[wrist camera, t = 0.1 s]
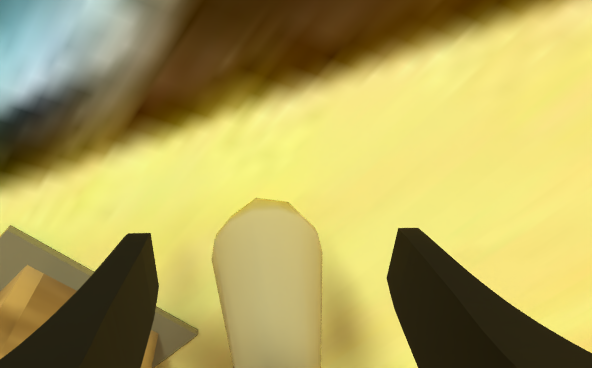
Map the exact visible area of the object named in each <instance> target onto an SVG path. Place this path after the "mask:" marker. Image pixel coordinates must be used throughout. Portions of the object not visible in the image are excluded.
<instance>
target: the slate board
mask: <svg viewBox="0 0 592 368" xmlns="http://www.w3.org/2000/svg"><path fill="white" fill-rule="evenodd" d="M26 265H29V266H30V267H32V268H34V269H36V270H38V271H40V272H42V273H44V274H46V275H48V276H50V277H51V278H53V279H55V280H57V281H59V282H61V283H63V284H65V285H67V286H69V287H71V288H72V289H74V290H76V291H77V290H78V289H79V288H80V287H81V286H82V285H83V284H84V283H85V282H86V281H87V280H88V279H89V277H90V276H91V275H92V274H93V273H94V272H93V271H91V270H90V269H88V268H86V267H84V266H82V265H81V264H79V263H77V262H75V261H73V260H72V259H70V258H68V257H66V256H64V255H63V254H61V253H59V252H57V251H55V250H54V249H52V248H50V247H48V246H47V245H45V244H43V243H41V242H39V241H38V240H36V239H34V238H32V237H30V236H29V235H27V234H25V233H23V232H21V231H20V230H18V229H16V228H14V227H12V226H11V225H10V226H9V227H8V228H7V229H6V230H5V231H4V232H3V234H2V235H1V236H0V291H1V290H2V289H3V288H4V287H5V286H6V285H7V284H8V283H9V282H10V281H11V280H12V279H13V278H14V277H15V276H16V275H17V274H18V273H19V272H20V271H21V270H22V269H23V268H24V267H25V266H26ZM151 330H153V331H154V332H156V333H158V338H157V343H156V348H155V353H154V358H153V363H152V368H154V367H156V366H157V365H158V364H160V363H161V362H162V361H164V360H165V359H166V358H168V357H169V356H170V355H172V354H173V353H174V352H176V351H177V350H178V349H180V348H181V347H182V346H184V345H185V344H186V343H188V342H189V341H190V340H192V339H193V338H194V337H196V336H197V335H198V330H197V329H195V328H193V327H192V326H190V325H188V324H186V323H184V322H183V321H181V320H179V319H177V318H176V317H174V316H172V315H170V314H168V313H167V312H165V311H163V310H161V309H159V308H158V307H156V309H155V316H154V321H153V325H152V328H151Z"/></svg>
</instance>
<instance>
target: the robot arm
mask: <svg viewBox="0 0 592 368" xmlns="http://www.w3.org/2000/svg"><path fill="white" fill-rule="evenodd" d="M387 282H388V286H389V290H390V294H391V298H392V301H393V305H394V309H395V311H396V314H397V316H398V319H399V322H400V324H401V327H402V329H403V332H404V334H405V336H406V339H407V341H408V344H409V346H410V349H411V351H412V354H413V356H414V359H415V361H416V363H417V366H418V368H592V353H590V352H588V351H586V350H585V349H583V348H581V347H579V346H577V345H575V344H573V343H572V342H570V341H568V340H566V339H565V338H563V337H561V336H560V335H558V334H556V333H554V332H553V331H551V330H549V329H548V328H546V327H544V326H543V325H541V324H539V323H538V322H536V321H535V320H533V319H532V318H530V317H529V316H527V315H526V314H524V313H523V312H521V311H520V310H518V309H517V308H515V307H514V306H512V305H511V304H509V303H508V302H507V301H505V300H504V299H503V298H501V297H500V296H499V295H497V294H496V293H495V292H493V291H492V290H491V289H489V288H488V287H487V286H485V285H484V284H483V283H482V282H480V281H479V280H478V279H477V278H475V277H474V276H473V275H472V274H471V273H469V272H468V271H467V270H466V269H465V268H463V267H462V266H461V265H460V264H459V263H458V262H456V261H455V260H454V259H453V258H452V257H451V256H450V255H448V254H447V253H446V252H445V251H444V250H443V249H442V248H441V247H439V246H438V245H437V244H436V243H435V242H434V241H433V240H432V239H430V238H429V237H428V236H427V235H426V234H425V233H423V232H422V231H421V230H420V229H419V228H398V232H397V236H396V240H395V245H394V249H393V253H392V258H391V262H390V266H389V270H388V275H387ZM158 288H159V284H158V278H157V271H156V265H155V259H154V252H153V246H152V240H151V233H132V234H127V235H126V236H125V237H124V238H123V239H122V240H121V242H120V243H119V244H118V245H117V246H116V248H115V249H114V250H113V251H112V252H111V254H110V255H109V256H108V257H107V258H106V259H105V261H104V262H103V263H102V264H101V265H100V266H99V267H98V269H97V270H96V271H95V272H94V273H93V274H92V275H91V276H90V277H89V279H88V280H87V281H86V282H85V283H84V284H83V285H82V286H81V287H80V288H79V289H78V290H77V291H76V293H75V294H74V295H73V296H72V297H71V298H69V299H68V300H67V301H66V302H65V303H64V304H63V305H62V306H61V307H60V308H59V309H58V310H57V311H56V312H55V313H54V314H53V315H52V316H51V317H50V318H49V319H48V320H47V321H46V322H45V323H44V324H43V325H41V326H40V327H39V328H38V329H37V330H36V331H35V332H33V333H32V334H31V335H30V336H29V337H28V338H26V339H25V340H24V341H23V342H22V343H21V344H19V345H18V346H17V347H16V348H14V349H13V350H12V351H11V352H9V353H8V354H7V355H5V356H4V357H3V358H1V359H0V368H141V365H142V361H143V358H144V354H145V350H146V347H147V343H148V339H149V336H150V332H151V328H152V325H153V321H154V316H155V309H156V303H157V295H158Z"/></svg>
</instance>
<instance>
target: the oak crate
mask: <svg viewBox="0 0 592 368" xmlns="http://www.w3.org/2000/svg"><path fill="white" fill-rule="evenodd" d="M75 293H76V290H74V289H72V288H71V287H69V286H67V285H65V284H63V283H61V282H59V281H57V280H55V279H53V278H51V277H50V276H48V275H46V274H44V273H42V272H40V271H38V270H36V269H34V268H32V267H30V266H29V265H26V266H25V267H24V268H23V269H22V270H21V271H20V272H19V273H18V274H17V275H16V276H15V277H14V278H13V279H12V280H11V281H10V282H9V283H8V284H7V285H6V286H5V287H4V288H3V289H2V290H1V291H0V359H1V358H3V357H4V356H5V355H7V354H8V353H9V352H11V351H12V350H13V349H14V348H16V347H17V346H18V345H19V344H21V343H22V342H23V341H24V340H25V339H26V338H28V337H29V336H30V335H31V334H32V333H33V332H35V331H36V330H37V329H38V328H39V327H40V326H41V325H43V324H44V323H45V322H46V321H47V320H48V319H49V318H50V317H51V316H52V315H53V314H54V313H55V312H56V311H57V310H58V309H59V308H60V307H61V306H62V305H63V304H64V303H65V302H66V301H67V300H68V299H69V298H71V297H72V296H73V295H74V294H75ZM157 338H158V333H156V332H154V331H153V330H151V332H150V336H149V339H148V343H147V347H146V350H145V354H144V358H143V361H142V365H141V368H152V363H153V358H154V353H155V348H156V343H157Z"/></svg>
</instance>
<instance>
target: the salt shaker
mask: <svg viewBox="0 0 592 368" xmlns="http://www.w3.org/2000/svg"><path fill="white" fill-rule="evenodd" d="M212 263H213V268H214V273H215V278H216V283H217V288H218V293H219V298H220V303H221V308H222V313H223V318H224V323H225V328H226V332H227V337H228V342H229V347H230V352H231V357H232V362H233V367H234V368H321V309H322V249H321V245H320V241H319V238H318V234H317V232H316V229H315V228H314V227H313V226H312V225H311V224H310V223H309V222H308V221H307V220H306V219H305V218H304V217H303V216H302V215H301V214H300V213H299V212H298V211H297V210H296V209H295V208H294V207H293V206H292V205H291V204H289V203H288V202H283V201H275V200H268V199H260V198H255V199H254V200H253V201H251V202H250V203H249V204H247V205H246V206H245V207H243V208H242V209H241V210H239V211H238V212H236V213H235V214H234V215H232V216H231V218H230V219H229V220H228V221H227V222H226V224H225V225H224V226H223V227H222V228H221V230H220V231H219V232H218V233H217V235H216V238H215V240H214V247H213V254H212Z"/></svg>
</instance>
